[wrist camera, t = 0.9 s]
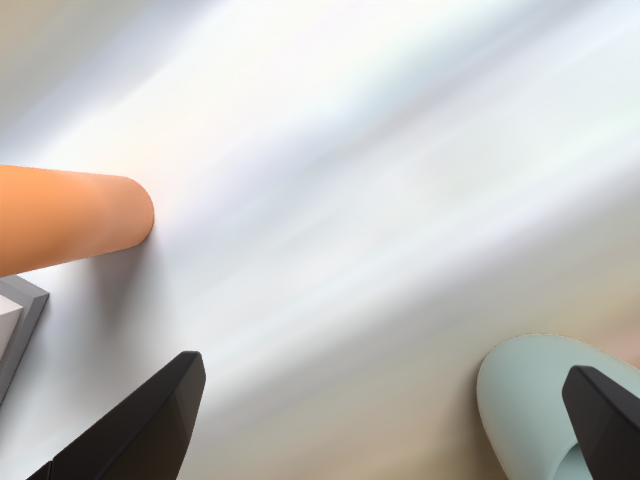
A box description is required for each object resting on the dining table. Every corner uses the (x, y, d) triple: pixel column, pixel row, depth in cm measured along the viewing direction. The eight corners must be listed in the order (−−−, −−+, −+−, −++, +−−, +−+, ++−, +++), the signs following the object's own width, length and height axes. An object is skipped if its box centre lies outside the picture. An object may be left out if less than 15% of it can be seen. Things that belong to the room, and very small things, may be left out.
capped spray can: (135, 261, 24) (-103, 334, 11) (73, 227, 24) (-237, 261, 11) (165, 197, 24) (-51, 197, 11) (101, 162, 24) (-191, 121, 11)
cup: (451, 325, 23) (528, 419, 13) (584, 307, 23) (769, 392, 13) (468, 443, 24) (552, 616, 14) (597, 429, 23) (781, 600, 13)
